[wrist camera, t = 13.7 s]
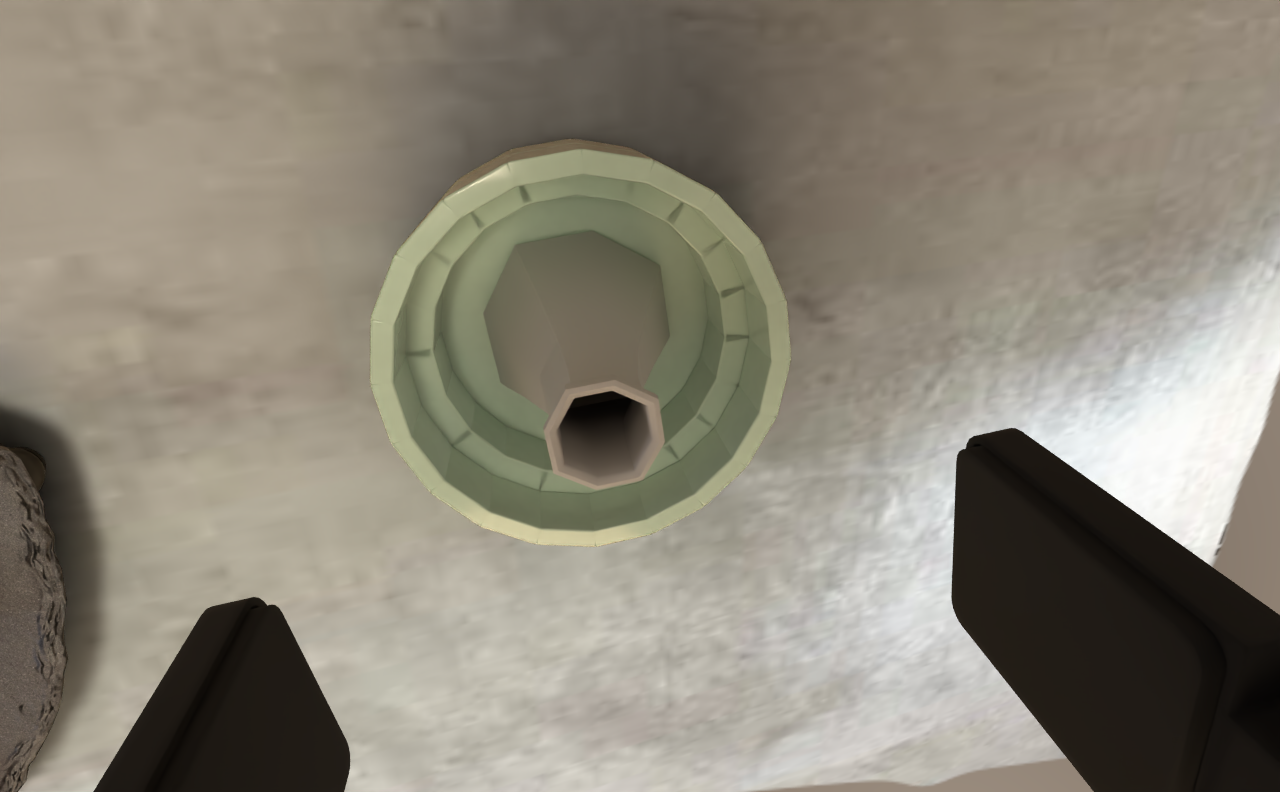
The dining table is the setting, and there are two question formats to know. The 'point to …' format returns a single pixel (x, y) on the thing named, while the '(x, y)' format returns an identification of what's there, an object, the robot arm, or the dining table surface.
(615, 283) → the flask
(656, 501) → the basin
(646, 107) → the dining table surface
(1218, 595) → the robot arm
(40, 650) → the serving tray
